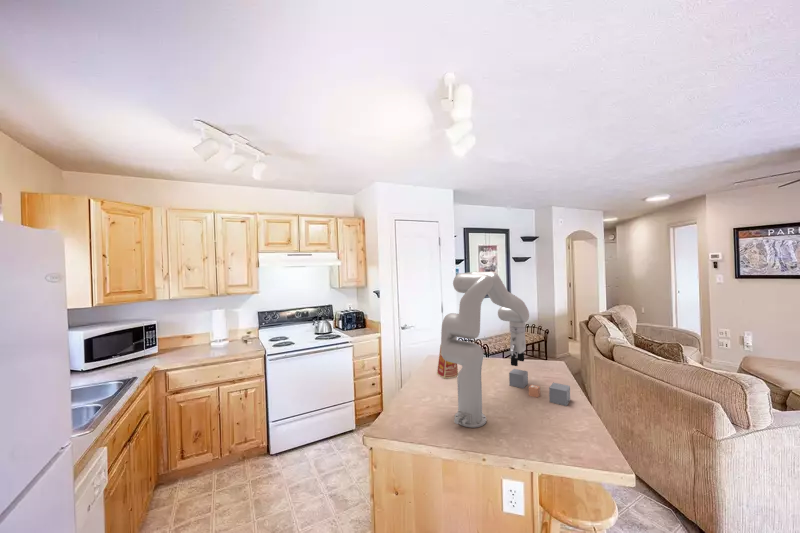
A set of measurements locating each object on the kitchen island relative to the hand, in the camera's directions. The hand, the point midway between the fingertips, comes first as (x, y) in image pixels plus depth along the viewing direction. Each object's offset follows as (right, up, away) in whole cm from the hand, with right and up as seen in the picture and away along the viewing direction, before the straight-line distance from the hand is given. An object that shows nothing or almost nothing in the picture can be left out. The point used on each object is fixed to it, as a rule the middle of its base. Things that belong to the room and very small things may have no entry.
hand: (517, 363), depth 162 cm
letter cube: (+4, -12, -12) cm, 17 cm away
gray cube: (+1, -11, +1) cm, 11 cm away
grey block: (+12, -11, -19) cm, 25 cm away
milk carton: (-33, -12, +16) cm, 39 cm away
